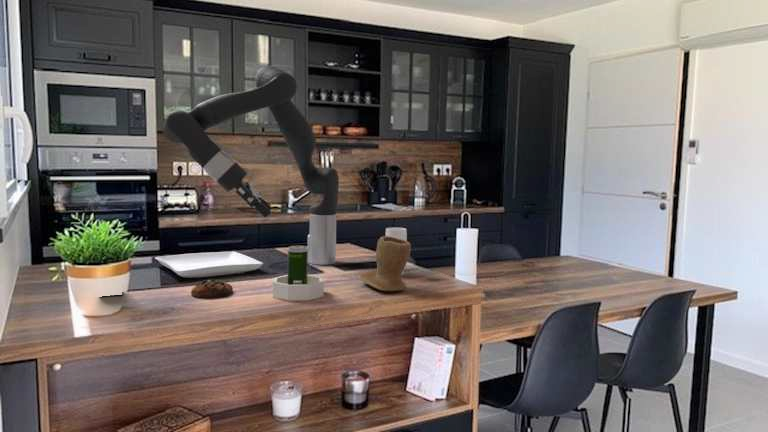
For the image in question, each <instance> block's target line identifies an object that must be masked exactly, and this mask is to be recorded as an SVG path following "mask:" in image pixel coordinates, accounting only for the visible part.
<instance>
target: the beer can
mask: <svg viewBox="0 0 768 432" xmlns="http://www.w3.org/2000/svg"><path fill="white" fill-rule="evenodd" d="M308 263H309V262H308V250H307V245H290V246H288V249H287V275H288V284H289V285H303V284H307V274H308V265H309V264H308Z"/></svg>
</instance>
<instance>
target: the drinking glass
mask: <svg viewBox="0 0 768 432" xmlns="http://www.w3.org/2000/svg"><path fill="white" fill-rule="evenodd" d="M407 231H408V230H407V228H404V227H386V228H385V236H388V237H394V238H397V239H402V240H405V241H407V240H408V239H407V238H408V236H407V235H408V233H407ZM404 273H405V271H404V270H403V272H402V276H404Z"/></svg>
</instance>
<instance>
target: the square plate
mask: <svg viewBox="0 0 768 432" xmlns="http://www.w3.org/2000/svg"><path fill="white" fill-rule="evenodd" d="M154 258H155V260H157V261H158V262H159V263H160V265H162V266H164V267H165V268H167V269H169V270H171V271H172V272H174V273H175V274H176V275H177V276H179V277H181V278H182V277H183V278H194V279H195V278H204V277H205V278H207V277H216V276H226V275H233V274H235V273H236V274H243V273H246V272H252V271H256V270H258V269H260V268H261V267H262V265H264V262H262V261H259V260H258V259H255V258H253V257H251V256H248V255H245V254H242V253H239V252H237V251H220V252H219V251H218V252H215V251H214V252H213V251H212V252H197V253H196V252H194V253H184V254H183V253H181V254H174V255H165V256H157V257H154Z"/></svg>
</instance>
